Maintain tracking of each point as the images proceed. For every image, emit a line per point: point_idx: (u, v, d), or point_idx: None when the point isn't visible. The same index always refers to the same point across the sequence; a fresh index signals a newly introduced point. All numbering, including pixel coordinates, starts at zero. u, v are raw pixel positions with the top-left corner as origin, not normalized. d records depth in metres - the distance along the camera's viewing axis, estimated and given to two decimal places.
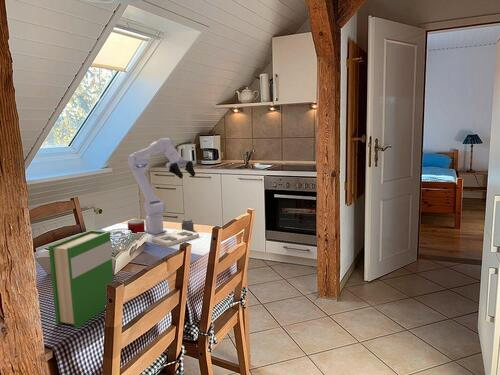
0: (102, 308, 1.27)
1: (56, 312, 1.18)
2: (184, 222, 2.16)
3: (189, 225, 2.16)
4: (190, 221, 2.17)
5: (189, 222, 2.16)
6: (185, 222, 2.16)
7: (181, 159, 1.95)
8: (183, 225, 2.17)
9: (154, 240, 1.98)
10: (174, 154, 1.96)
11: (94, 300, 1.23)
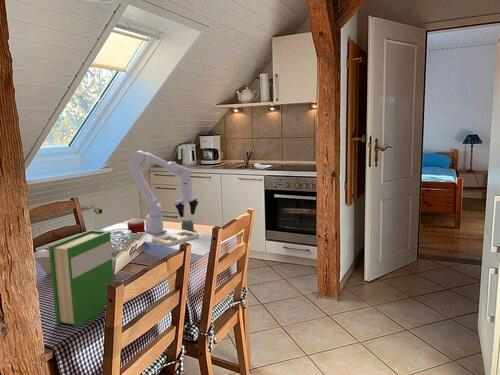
0: (102, 308, 1.27)
1: (56, 312, 1.18)
2: (184, 222, 2.16)
3: (189, 225, 2.16)
4: (190, 221, 2.17)
5: (189, 222, 2.16)
6: (185, 222, 2.16)
7: (190, 200, 2.14)
8: (183, 225, 2.17)
9: (154, 240, 1.98)
10: (187, 193, 2.12)
11: (94, 300, 1.23)
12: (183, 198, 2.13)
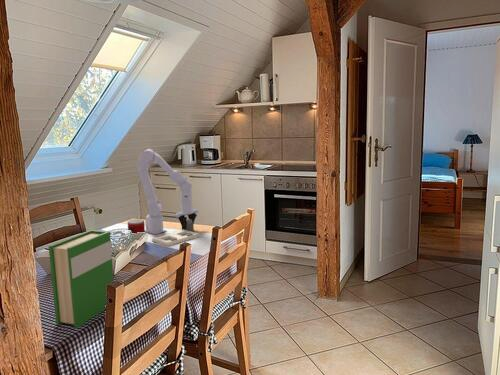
0: (102, 308, 1.27)
1: (56, 312, 1.18)
2: None
3: (189, 225, 2.16)
4: (190, 221, 2.17)
5: (189, 222, 2.16)
6: None
7: None
8: None
9: (154, 240, 1.98)
10: (187, 206, 2.13)
11: (94, 300, 1.23)
12: (183, 211, 2.14)
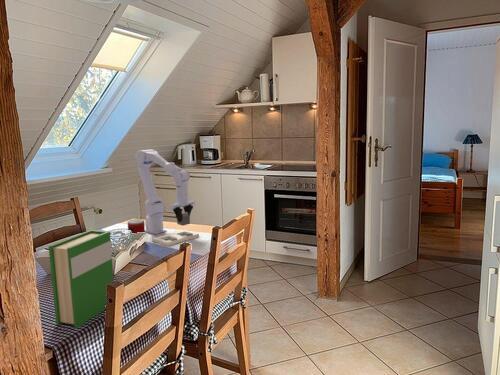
0: (102, 308, 1.27)
1: (56, 312, 1.18)
2: None
3: (185, 218, 2.03)
4: (186, 214, 2.04)
5: (185, 215, 2.04)
6: (181, 215, 2.03)
7: (186, 204, 2.02)
8: None
9: (154, 240, 1.98)
10: (183, 197, 2.01)
11: (94, 300, 1.23)
12: (179, 202, 2.02)
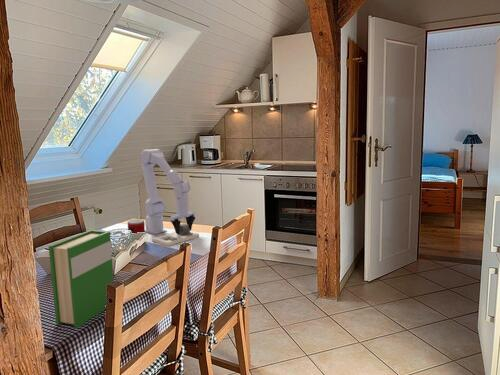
0: (102, 308, 1.27)
1: (56, 312, 1.18)
2: (180, 227, 2.05)
3: (185, 231, 2.04)
4: (186, 226, 2.05)
5: (185, 227, 2.05)
6: (181, 227, 2.04)
7: None
8: None
9: (154, 240, 1.98)
10: (183, 208, 2.02)
11: (94, 300, 1.23)
12: (179, 214, 2.02)
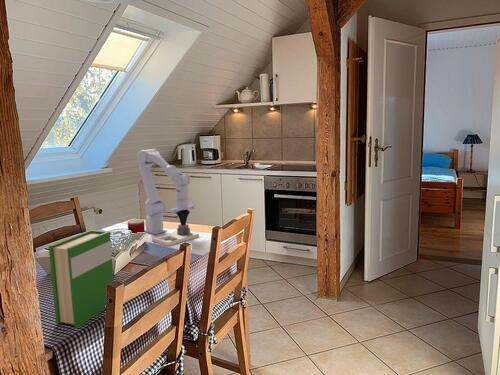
0: (102, 308, 1.27)
1: (56, 312, 1.18)
2: (180, 227, 2.05)
3: (185, 231, 2.04)
4: (186, 226, 2.05)
5: (185, 227, 2.05)
6: (181, 227, 2.04)
7: (186, 209, 2.02)
8: (179, 230, 2.05)
9: (154, 240, 1.98)
10: (183, 201, 2.01)
11: (94, 300, 1.23)
12: (179, 206, 2.02)
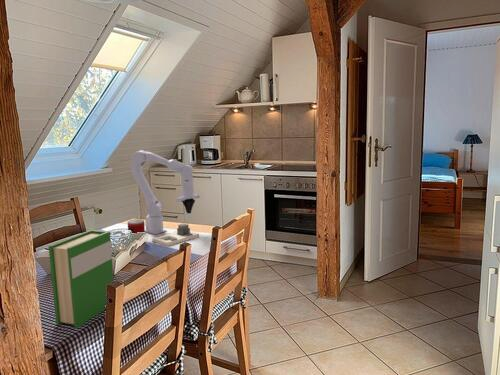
0: (102, 308, 1.27)
1: (56, 312, 1.18)
2: (180, 227, 2.05)
3: (185, 231, 2.04)
4: (186, 226, 2.05)
5: (185, 227, 2.05)
6: (181, 227, 2.04)
7: (192, 198, 2.12)
8: (179, 230, 2.05)
9: (154, 240, 1.98)
10: (189, 190, 2.11)
11: (94, 300, 1.23)
12: (185, 195, 2.12)
